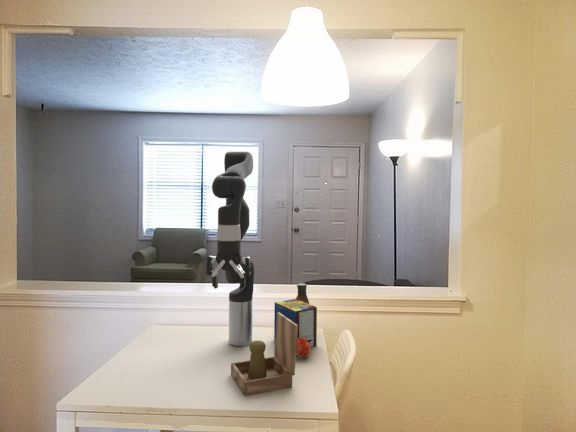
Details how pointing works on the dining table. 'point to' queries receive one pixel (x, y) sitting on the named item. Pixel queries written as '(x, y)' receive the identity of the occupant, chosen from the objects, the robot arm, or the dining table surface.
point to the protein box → (299, 318)
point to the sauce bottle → (302, 293)
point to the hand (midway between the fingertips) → (228, 288)
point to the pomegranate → (303, 347)
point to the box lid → (286, 342)
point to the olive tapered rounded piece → (257, 360)
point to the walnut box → (274, 380)
